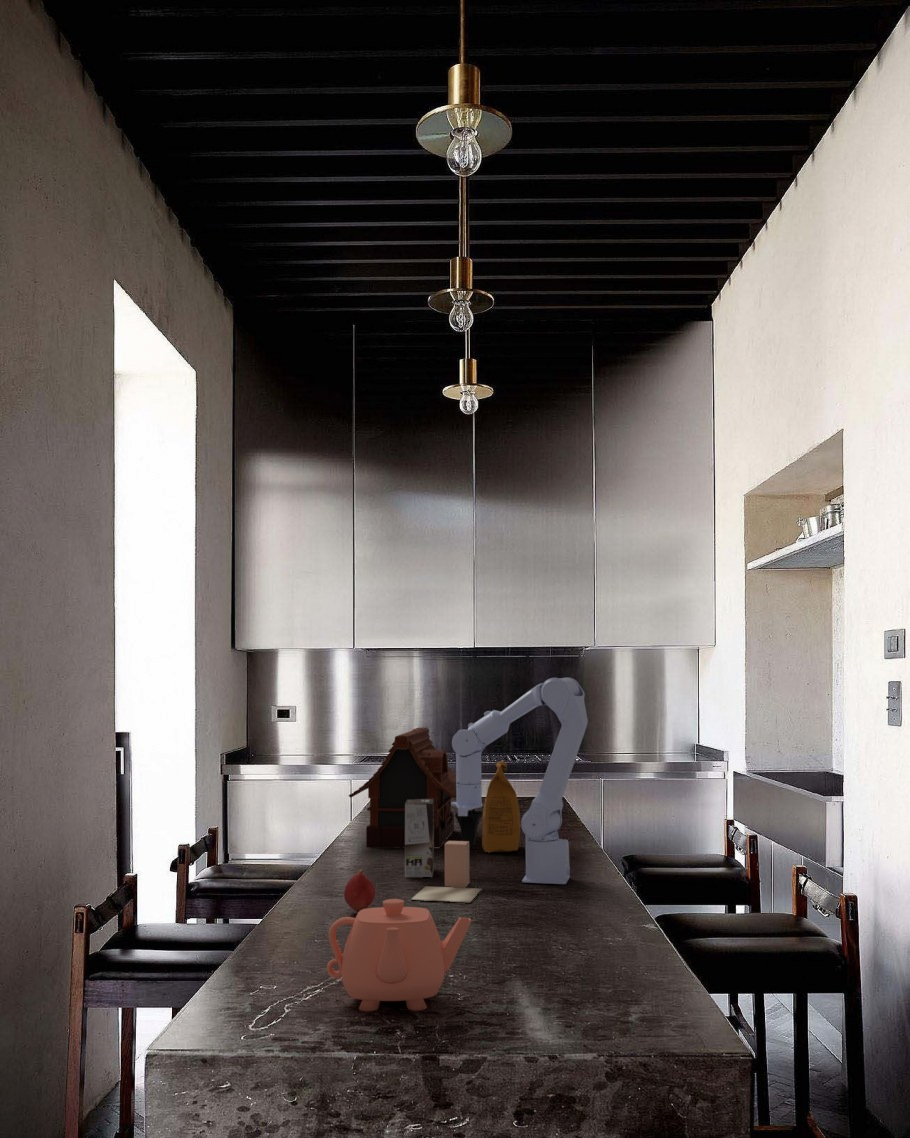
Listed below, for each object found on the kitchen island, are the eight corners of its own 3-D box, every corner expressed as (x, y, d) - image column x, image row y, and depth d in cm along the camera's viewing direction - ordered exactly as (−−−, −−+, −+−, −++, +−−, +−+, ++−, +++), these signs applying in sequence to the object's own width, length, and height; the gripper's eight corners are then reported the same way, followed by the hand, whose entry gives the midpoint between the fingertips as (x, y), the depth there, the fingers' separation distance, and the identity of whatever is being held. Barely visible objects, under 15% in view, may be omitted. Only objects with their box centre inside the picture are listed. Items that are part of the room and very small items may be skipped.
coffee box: (433, 878, 223) (432, 803, 225) (403, 878, 223) (403, 803, 225) (434, 869, 232) (434, 798, 234) (406, 869, 232) (406, 798, 234)
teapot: (476, 997, 142) (475, 898, 143) (393, 1031, 129) (393, 922, 130) (392, 975, 152) (391, 883, 153) (307, 1005, 139) (308, 904, 140)
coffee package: (522, 846, 263) (521, 760, 265) (520, 854, 250) (519, 764, 253) (484, 845, 264) (483, 759, 266) (479, 854, 251) (479, 764, 254)
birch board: (481, 890, 210) (481, 888, 210) (470, 903, 198) (470, 901, 198) (425, 888, 213) (425, 886, 213) (411, 901, 201) (411, 898, 201)
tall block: (469, 884, 216) (469, 841, 217) (465, 888, 212) (465, 844, 213) (448, 883, 217) (448, 840, 218) (444, 887, 213) (444, 843, 214)
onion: (338, 914, 190) (338, 871, 191) (355, 908, 195) (355, 865, 196) (364, 918, 187) (364, 873, 188) (380, 911, 192) (380, 868, 193)
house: (456, 851, 257) (455, 735, 259) (346, 849, 260) (347, 734, 263) (471, 829, 291) (471, 727, 294) (375, 827, 295) (375, 727, 298)
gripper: (458, 779, 237) (458, 838, 236) (444, 786, 223) (444, 849, 222) (487, 779, 236) (488, 839, 234) (475, 787, 222) (476, 850, 220)
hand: (469, 844), depth 228 cm, fingers closed
